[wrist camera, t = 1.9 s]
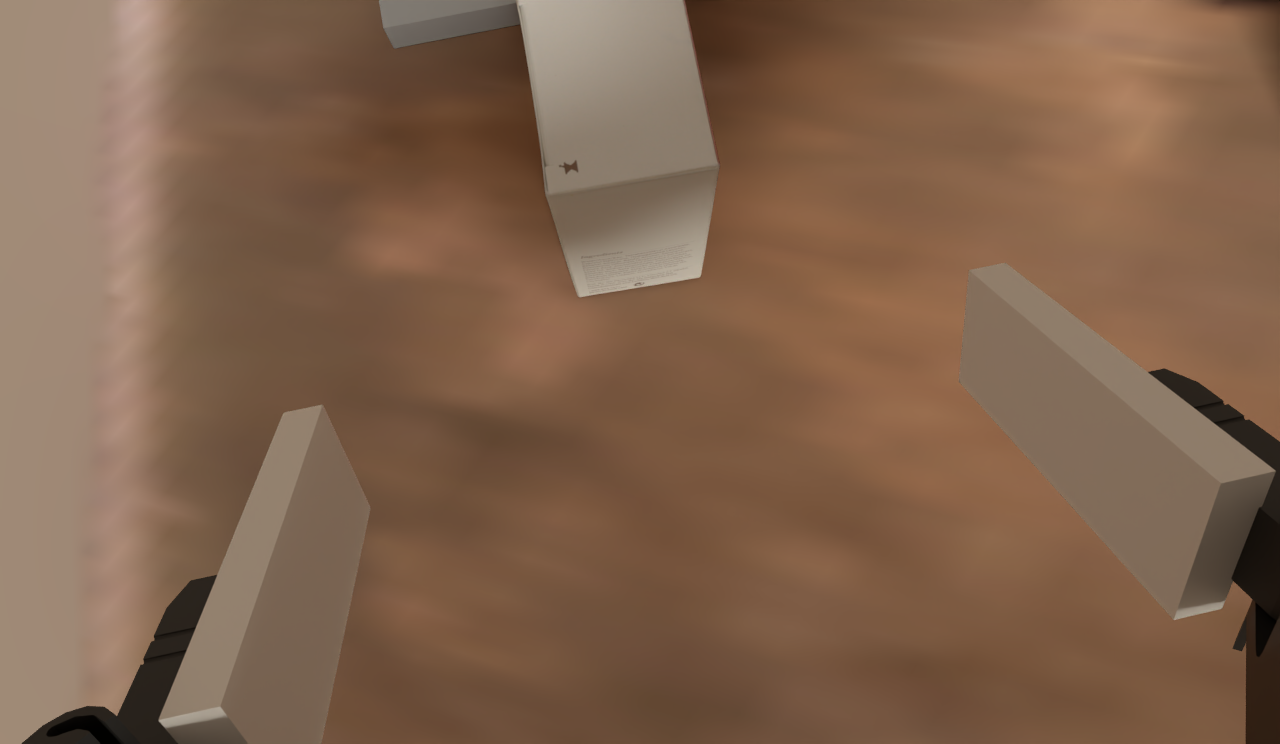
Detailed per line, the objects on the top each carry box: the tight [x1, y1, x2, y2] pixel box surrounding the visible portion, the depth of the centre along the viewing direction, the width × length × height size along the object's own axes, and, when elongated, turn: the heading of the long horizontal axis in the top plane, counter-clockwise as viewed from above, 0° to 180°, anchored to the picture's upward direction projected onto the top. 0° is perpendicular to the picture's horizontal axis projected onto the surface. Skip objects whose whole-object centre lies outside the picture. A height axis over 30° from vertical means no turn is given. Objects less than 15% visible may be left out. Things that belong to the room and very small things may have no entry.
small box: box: [516, 0, 720, 297], centre depth 30 cm, size 8×6×10 cm
